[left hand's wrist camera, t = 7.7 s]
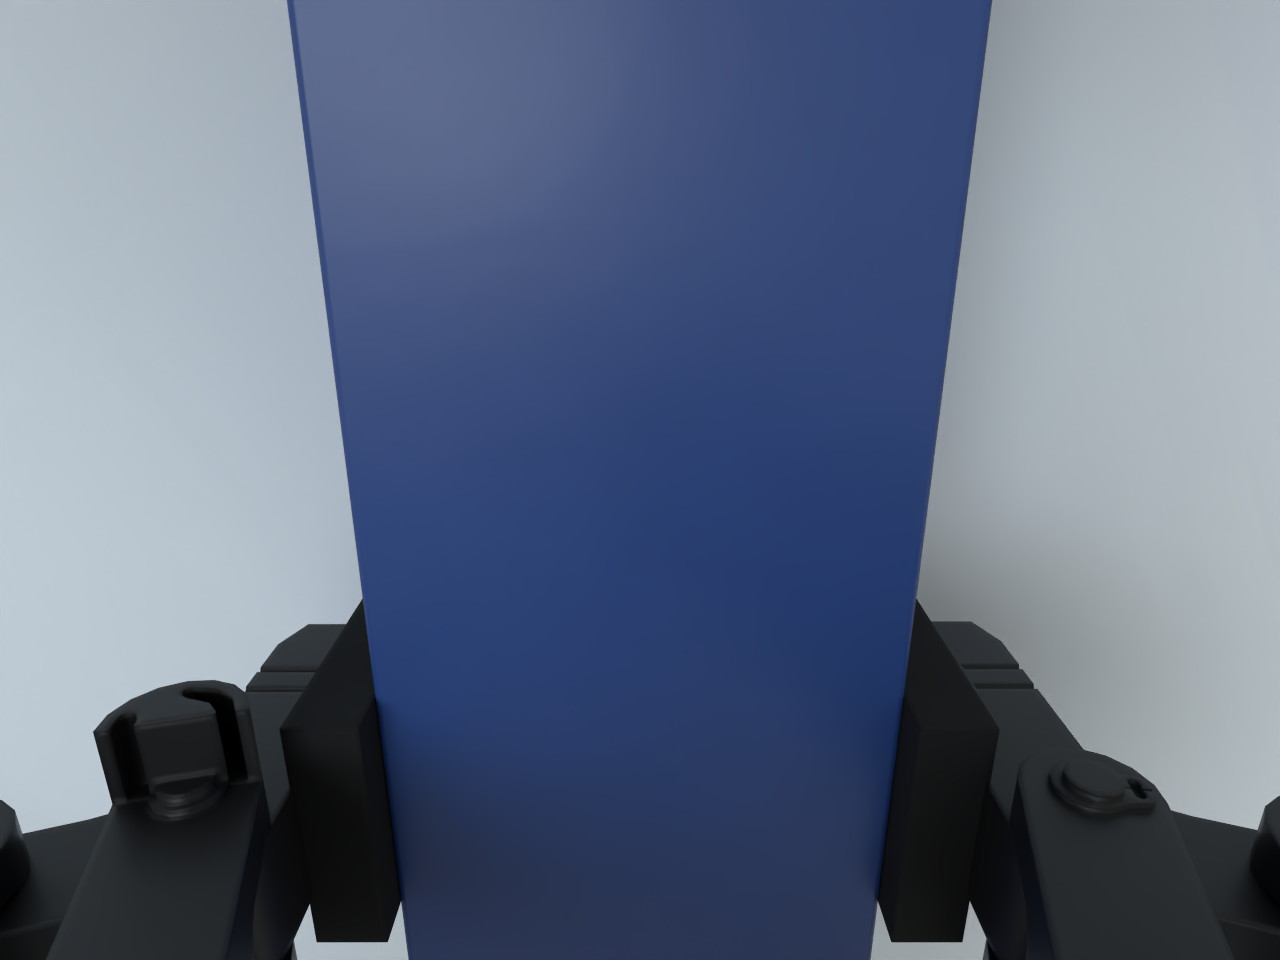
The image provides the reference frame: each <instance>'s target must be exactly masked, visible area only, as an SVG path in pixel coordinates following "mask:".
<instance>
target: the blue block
mask: <svg viewBox="0 0 1280 960" xmlns="http://www.w3.org/2000/svg"><path fill="white" fill-rule="evenodd" d="M287 5H288V13H289V21H290V28H291V36H292V44H293V52H294V60H295V68H296V76H297V84H298V91H299V99H300V107H301V115H302V123H303V131H304V139H305V147H306V154H307V162H308V170H309V178H310V186H311V194H312V202H313V210H314V217H315V225H316V233H317V241H318V249H319V257H320V265H321V273H322V280H323V288H324V296H325V304H326V312H327V320H328V328H329V336H330V343H331V351H332V359H333V367H334V375H335V383H336V391H337V399H338V406H339V414H340V422H341V430H342V438H343V446H344V454H345V462H346V469H347V477H348V485H349V493H350V501H351V509H352V517H353V525H354V532H355V540H356V548H357V556H358V564H359V572H360V580H361V588H362V596H363V603H364V611H365V619H366V627H367V635H368V643H369V651H370V659H371V666H372V674H373V682H374V690H375V697H376V705H377V713H378V721H379V729H380V736H381V744H382V752H383V760H384V768H385V776H386V784H387V792H388V799H389V807H390V815H391V823H392V831H393V839H394V847H395V855H396V862H397V870H398V878H399V886H400V894H401V903H402V911H403V918H404V926H405V934H406V942H407V950H408V958H409V960H870V958H871V950H872V942H873V934H874V926H875V919H876V911H877V903H878V894H879V886H880V878H881V870H882V862H883V855H884V847H885V839H886V831H887V823H888V815H889V807H890V799H891V791H892V784H893V776H894V768H895V760H896V752H897V744H898V736H899V728H900V721H901V713H902V705H903V697H904V690H905V682H906V674H907V666H908V659H909V651H910V643H911V635H912V627H913V619H914V611H915V603H916V595H917V588H918V580H919V572H920V564H921V556H922V548H923V540H924V532H925V525H926V517H927V509H928V501H929V493H930V485H931V477H932V469H933V462H934V454H935V446H936V438H937V430H938V422H939V414H940V406H941V399H942V391H943V383H944V375H945V367H946V359H947V351H948V343H949V336H950V328H951V320H952V312H953V304H954V296H955V288H956V280H957V272H958V265H959V257H960V249H961V241H962V233H963V225H964V217H965V209H966V202H967V194H968V186H969V178H970V170H971V162H972V154H973V146H974V139H975V131H976V123H977V115H978V107H979V99H980V91H981V83H982V76H983V68H984V60H985V52H986V44H987V36H988V28H989V20H990V12H991V5H992V0H287Z"/></svg>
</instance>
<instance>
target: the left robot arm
mask: <svg viewBox="0 0 1280 960" xmlns="http://www.w3.org/2000/svg"><path fill="white" fill-rule="evenodd" d="M93 733H94V737H95V741H96V744H97V748H98V752H99V756H100V759H101V763H102V767H103V771H104V774H105V778H106V782H107V785H108V789H109V793H110V797H111V800H112V804H113V805H112V807H111V809H110V812H109V814H107V815H104V816H100V817H96V818H93V819H89V820H85V821H80V822H76V823H71V824H66V825H62V826H57V827H52V828H48V829H43V830H39V831H34V832H29V833H25V834H22V832H21V828H20V825H19V822H18V819H17V816H16V813H15V810H14V809H12V808H11V807H10V806H9V805H7V804H6V803H5V802H3V801H2V800H0V960H297V955H296V950H295V945H294V938H295V936H296V933H297V931H298V929H299V927H300V924H301V922H302V920H303V918H304V915H305V913H306V911H307V909H308V906H309V904H310V906H311V912H312V918H313V923H314V929H315V935H316V940H317V942H388V940H389V936H390V933H391V930H392V927H393V924H394V921H395V918H396V915H397V912H398V909H399V906H400V902H401V894H400V886H399V878H398V870H397V862H396V855H395V847H394V839H393V831H392V823H391V815H390V807H389V799H388V792H387V784H386V776H385V768H384V760H383V752H382V744H381V736H380V729H379V721H378V713H377V705H376V697H375V690H374V682H373V674H372V666H371V659H370V651H369V643H368V635H367V627H366V619H365V611H364V603H363V599H362V601H361V602H360V604H359V605H358V607H357V608H356V610H355V611H354V613H353V615H352V616H351V618H350V619H349V621H348V622H347V624H308V625H307V626H305V627H304V628H302V629H301V630H299V631H298V632H296V633H295V634H293V635H292V636H290V637H289V638H287V639H286V640H284V641H283V642H281V643H280V644H278V645H277V647H276V648H275V649H274V651H273V652H272V653H271V655H270V656H269V657H268V659H267V660H266V661H265V663H264V664H263V665H262V666H261V671H260V672H257V673H256V674H255V676H254V677H253V678H252V680H251V681H250V682H249V684H248V685H247V686H246V692H243V691H242V690H241V689H240V688H238V687H237V686H236V685H234V684H230V683H225V682H220V681H216V680H206V681H187V682H182V683H178V684H174V685H169V686H165V687H161V688H157V689H155V690H153V691H150V692H148V693H145V694H143V695H140V696H138V697H136V698H133V699H131V700H129V701H128V702H126V703H125V704H123V705H122V706H120V707H119V708H117V709H116V710H114V711H113V712H111V713H110V714H108V715H107V716H106V717H105V718H104V720H103V721H102V722H101V723H100V724H99V726H98V727H97V728H96V729H95V730H94V731H93ZM969 901H970V902H971V904H972V907H973V909H974V911H975V913H976V915H977V918H978V920H979V922H980V924H981V927H982V929H983V931H984V933H985V935H986V938H987V939H986V945H985V950H984V955H983V960H1280V796H1278V797H1277V798H1276V799H1274V800H1273V801H1272V802H1270V803H1269V804H1268V805H1266V806H1265V809H1264V812H1263V815H1262V818H1261V822H1260V825H1259V828H1258V830H1254V829H1249V828H1244V827H1240V826H1235V825H1230V824H1226V823H1221V822H1216V821H1212V820H1207V819H1202V818H1198V817H1193V816H1189V815H1185V814H1182V813H1178V812H1175V811H1171V810H1170V808H1169V806H1168V803H1167V802H1166V801H1165V799H1164V798H1163V796H1162V795H1161V794H1160V792H1159V791H1158V789H1157V788H1156V787H1155V785H1154V784H1152V783H1151V782H1150V781H1148V780H1147V779H1146V778H1144V777H1143V776H1142V775H1140V774H1139V773H1138V772H1137V771H1135V770H1134V769H1133V768H1131V767H1129V766H1126V765H1124V764H1122V763H1120V762H1118V761H1116V760H1114V759H1112V758H1110V757H1107V756H1105V755H1101V754H1097V753H1094V752H1090V751H1086V750H1083V748H1082V747H1081V746H1080V744H1079V743H1078V742H1077V740H1076V739H1075V738H1074V736H1073V735H1072V734H1071V733H1070V731H1069V730H1068V729H1067V727H1066V726H1065V725H1064V723H1063V722H1062V721H1061V719H1060V718H1059V717H1058V715H1057V714H1056V713H1055V712H1054V710H1053V709H1052V708H1051V706H1050V705H1049V704H1048V702H1047V701H1046V700H1045V698H1044V697H1043V696H1042V694H1041V693H1040V692H1039V691H1038V689H1034V684H1033V683H1032V681H1031V680H1030V679H1029V677H1028V676H1027V675H1026V673H1025V672H1024V671H1023V669H1019V664H1018V663H1017V662H1016V660H1015V659H1014V658H1013V656H1012V655H1011V654H1010V652H1009V651H1008V650H1007V648H1006V647H1005V646H1004V645H1003V643H1002V642H1001V641H1000V640H998V639H997V638H995V637H994V636H992V635H991V634H989V633H987V632H986V631H984V630H983V629H981V628H980V627H978V626H977V625H975V624H974V623H972V622H931V621H930V619H929V618H928V616H927V615H926V613H925V611H924V610H923V608H922V607H921V605H920V604H919V602H918V600H917V599H916V603H915V611H914V619H913V627H912V635H911V643H910V651H909V659H908V666H907V674H906V682H905V690H904V697H903V705H902V713H901V721H900V728H899V736H898V744H897V752H896V760H895V768H894V776H893V784H892V791H891V799H890V807H889V815H888V823H887V831H886V839H885V847H884V855H883V862H882V870H881V878H880V886H879V894H878V902H879V905H880V908H881V911H882V914H883V918H884V921H885V924H886V927H887V930H888V933H889V936H890V939H891V942H962V941H963V935H964V930H965V924H966V918H967V913H968V907H969Z"/></svg>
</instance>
